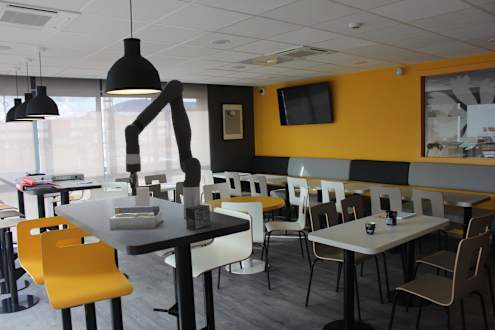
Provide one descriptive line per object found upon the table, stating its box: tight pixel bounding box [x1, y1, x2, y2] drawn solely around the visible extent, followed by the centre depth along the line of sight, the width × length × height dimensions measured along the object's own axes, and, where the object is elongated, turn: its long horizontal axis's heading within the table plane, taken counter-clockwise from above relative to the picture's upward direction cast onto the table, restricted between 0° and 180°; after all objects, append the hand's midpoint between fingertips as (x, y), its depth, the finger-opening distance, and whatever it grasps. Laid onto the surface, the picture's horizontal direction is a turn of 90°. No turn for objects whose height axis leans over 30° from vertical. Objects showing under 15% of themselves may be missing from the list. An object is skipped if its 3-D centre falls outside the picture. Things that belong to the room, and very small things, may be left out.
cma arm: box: [114, 205, 161, 215], centre depth 204 cm, size 22×4×3 cm, turn 91°
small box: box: [185, 204, 211, 231], centre depth 192 cm, size 11×6×10 cm, turn 141°
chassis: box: [109, 210, 163, 230], centre depth 204 cm, size 22×18×6 cm
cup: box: [134, 186, 151, 207], centre depth 229 cm, size 8×8×16 cm
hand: (134, 195), depth 209 cm, fingers closed
